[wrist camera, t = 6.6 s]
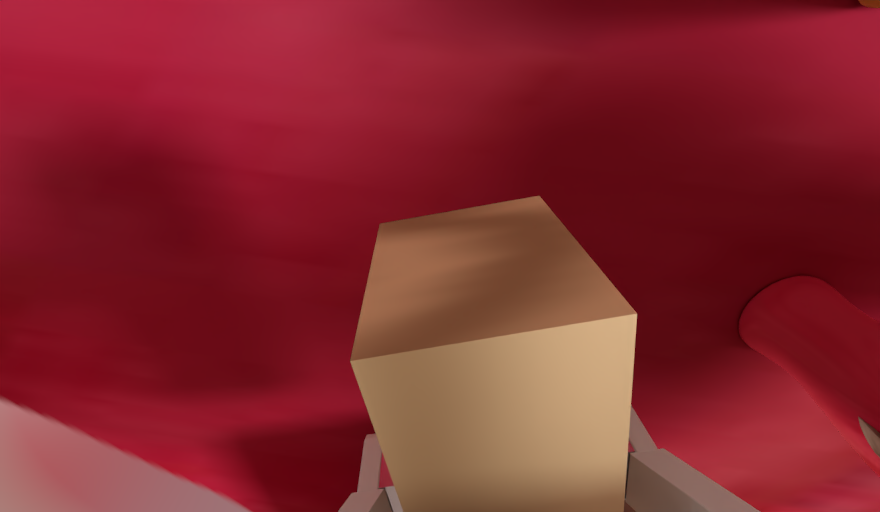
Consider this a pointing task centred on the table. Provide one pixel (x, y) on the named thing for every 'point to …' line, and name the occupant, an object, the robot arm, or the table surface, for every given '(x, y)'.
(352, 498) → the robot arm
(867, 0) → the coffee package
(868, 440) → the beer glass
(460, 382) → the slat
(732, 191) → the table surface
